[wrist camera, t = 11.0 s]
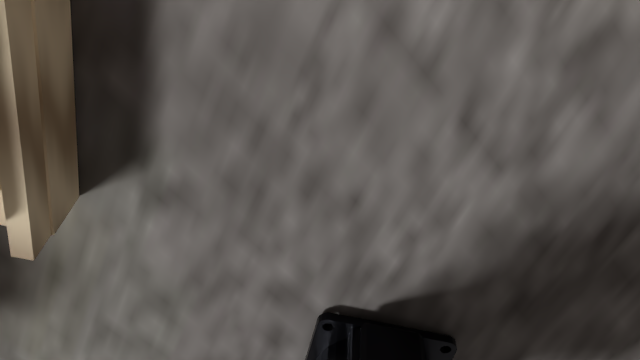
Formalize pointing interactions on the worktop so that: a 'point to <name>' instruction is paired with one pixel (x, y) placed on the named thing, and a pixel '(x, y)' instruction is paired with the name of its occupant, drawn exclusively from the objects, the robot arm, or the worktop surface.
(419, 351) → the robot arm
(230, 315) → the worktop surface
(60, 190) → the trough rack
